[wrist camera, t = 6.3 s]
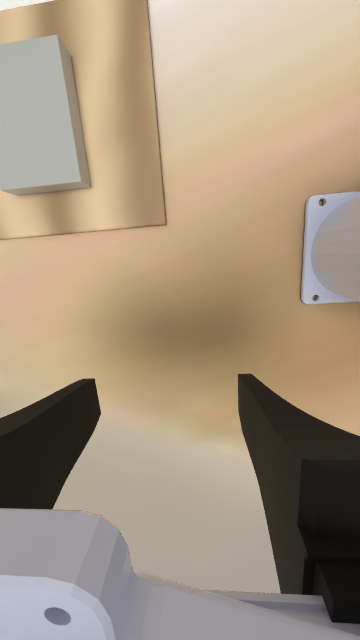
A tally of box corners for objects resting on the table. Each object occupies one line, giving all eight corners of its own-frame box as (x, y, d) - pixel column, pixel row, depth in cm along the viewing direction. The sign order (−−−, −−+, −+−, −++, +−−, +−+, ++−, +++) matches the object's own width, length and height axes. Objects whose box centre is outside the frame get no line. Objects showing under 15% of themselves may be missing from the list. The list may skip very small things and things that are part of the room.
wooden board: (146, -7, 16) (144, -17, 15) (166, 224, 19) (165, 223, 19) (-63, 32, 17) (-72, 24, 16) (-8, 240, 21) (-14, 240, 20)
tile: (57, 34, 15) (-34, 50, 15) (80, 181, 17) (0, 190, 17) (71, 57, 16) (-10, 70, 17) (91, 188, 18) (18, 196, 19)
